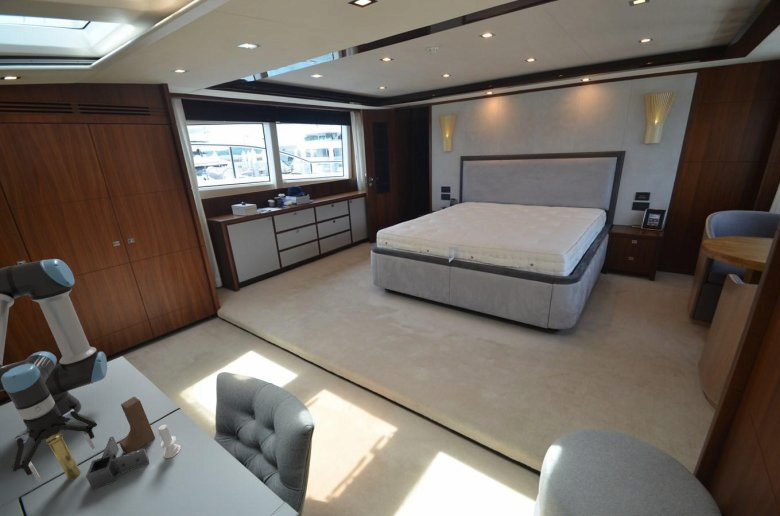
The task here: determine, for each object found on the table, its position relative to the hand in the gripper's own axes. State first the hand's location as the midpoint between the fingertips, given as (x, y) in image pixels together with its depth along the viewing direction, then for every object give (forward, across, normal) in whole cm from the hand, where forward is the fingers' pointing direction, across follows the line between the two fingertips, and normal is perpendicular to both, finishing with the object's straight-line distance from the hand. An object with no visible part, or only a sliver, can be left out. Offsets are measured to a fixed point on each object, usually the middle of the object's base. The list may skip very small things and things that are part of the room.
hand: (66, 462), depth 111 cm
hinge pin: (+6, 0, 0) cm, 6 cm away
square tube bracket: (+6, +12, -9) cm, 17 cm away
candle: (+7, +23, -19) cm, 31 cm away
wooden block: (+7, +18, -5) cm, 19 cm away
